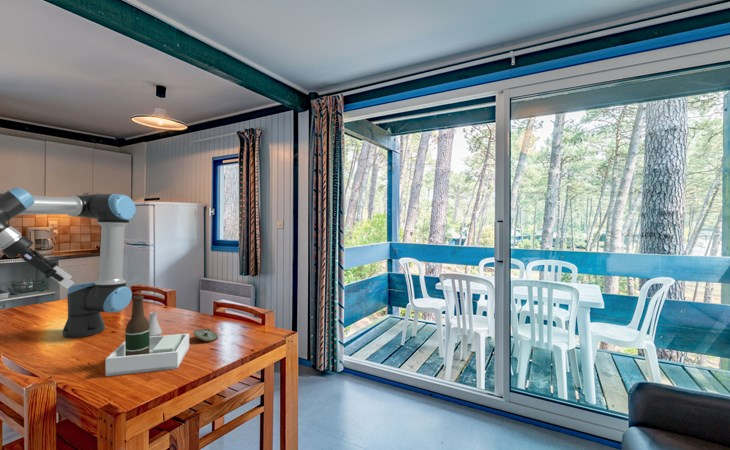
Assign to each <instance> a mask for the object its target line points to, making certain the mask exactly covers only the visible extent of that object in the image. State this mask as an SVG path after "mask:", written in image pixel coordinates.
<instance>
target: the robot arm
mask: <svg viewBox="0 0 730 450" xmlns="http://www.w3.org/2000/svg"><path fill="white" fill-rule="evenodd" d="M136 210H137V209H136V204H135V202H134V200H133V199H131V198H130V196H128V195H126V194H118V193H107V194H106V193H102V194H101V193H92V194H81V195H80V194H79V195H78V194H77V195H75V194H72V195H68V196H67V197H66V196H48V195H32V194H31V193H30V192H28V191H27V190H26V189H24V188H21V187H14V188H12V189H11V188H10V189H9V190H7V191H6V192H0V250H1V253H2V254H4V255H5V256H7V257H8V258H9V259H14V258H16V257H17V256H19V255H20V256H21V259H22V260H23V261H25V262H26V263H28V264H29V265H31V266H33V267H34V268H36V269H37V270H39V271H40V272H41V273H42V274H44V275H45V279H49V278H51V279H52V280H53V281H54V282H56V283H58V284H59V285H61V286H62V287H64V288H65V289H66V290H67V295H66V296H67V319H66V322H65V323H64V327H63V330H62V337H63V338H70V339H73V338H74V339H75V338H84V337H89V336H94V335H96V334H99V333H102V332H104V331H105V329H106V324H105V321H104V319H103V316H102V314H101V312H103V313H119V312H121V311H124V310H125V309H126V308H127V306H129V304H130V303H131V300H132V298H133V291H132V290H131V289H130V287H127V281H126V280H125V279H124V278H123V277H124V276H123V274H124V273H123V271H124V255H125V254H124V253H125V252H124V251H125V249H124V248H125V228H126V226H128V225H129V224H130V220H131V219H133V217H134V216H135V215H136V212H137V211H136ZM18 215H66V216H68V217H71V218H72V217H74V218H75V217H76V218H78V217H79V218H89V219H94V220H95V219H96V220H97V224H98V225H100V227H101V231H100V249H99V250H100V253H99V270H98V271H99V275H98V276H99V277H98V280H96V281H90V282H89V281H88V282H82V283H76V284H75V282H74V281H73V280H71V279H72V277H73V276H72V275H71V274H69V273H68V272H66V271H65V270H63V269H62V268H61V267H60V266H58V263H57V262H53V261H51V260H48V259H47V258H46V257H44V256H43V255H42V254H41V253H40V252H38V251H37V250H36V249H34V250H33V248H30V247H32V246H33V244H34V241H32V240H31V239H30V238H28V237H27V236H25V235H23V236H22V233H21V232H20V231H18V229H16V228H14V227H13V226H11V225H10V224H8V223H7V222H9V221H10V220H12V219H13V218H15V217H17V216H18Z"/></svg>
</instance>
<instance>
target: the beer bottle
mask: <svg viewBox="0 0 730 450" xmlns="http://www.w3.org/2000/svg"><path fill="white" fill-rule="evenodd" d="M131 300H132V307H131V318H130V319H129V321H128V322H127V325H126V326H125V337H124V339H125V340H124V342H125V356H131V355H142V354H149V351H150V327H149V319H147V317H146V316H145V312H144V295H140V294H138V295H134V296H133V295H132V298H131Z"/></svg>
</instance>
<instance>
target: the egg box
mask: <svg viewBox="0 0 730 450" xmlns="http://www.w3.org/2000/svg"><path fill="white" fill-rule="evenodd" d="M172 335H173V336H164V335H163V336H164V337H163V338H162V339H161V340H160V342H159V343H158V344H157V345H156V347H155V348H154V349H153V353H163V352H174V351H176V350H177V348H178V346H179V345H180V343H181V337H182V335H176V334H172Z"/></svg>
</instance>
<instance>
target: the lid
mask: <svg viewBox="0 0 730 450" xmlns="http://www.w3.org/2000/svg"><path fill="white" fill-rule="evenodd" d="M193 336H194V337H195V338H197V339H199V340H201V341H204V342H214V341H216V340H218V338H219V335H218V334H217V332H215V331H213V330H211V329H210V328H209V327H208V328H206V329H205V328H201V329H200V328H199V329H195V330H194V331H193Z"/></svg>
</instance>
